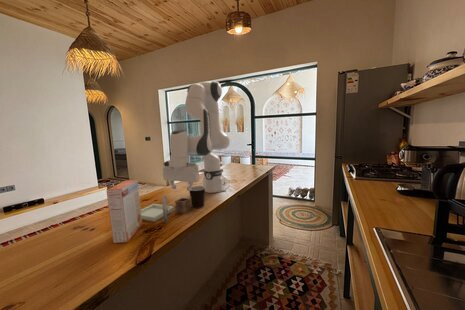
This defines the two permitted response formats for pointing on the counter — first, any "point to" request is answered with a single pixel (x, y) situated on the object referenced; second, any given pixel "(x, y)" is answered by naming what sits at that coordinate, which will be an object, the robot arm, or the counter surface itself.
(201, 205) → the coffee mug
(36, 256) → the counter surface
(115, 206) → the cracker box
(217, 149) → the robot arm
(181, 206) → the walnut block
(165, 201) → the rod
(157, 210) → the sage dish
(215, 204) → the counter surface
